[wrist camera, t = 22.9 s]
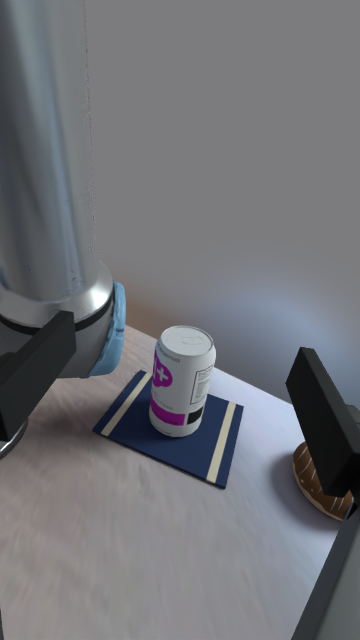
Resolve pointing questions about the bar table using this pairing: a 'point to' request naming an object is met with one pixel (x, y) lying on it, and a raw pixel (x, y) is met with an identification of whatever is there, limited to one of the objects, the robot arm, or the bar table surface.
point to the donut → (317, 485)
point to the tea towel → (180, 452)
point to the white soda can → (181, 380)
